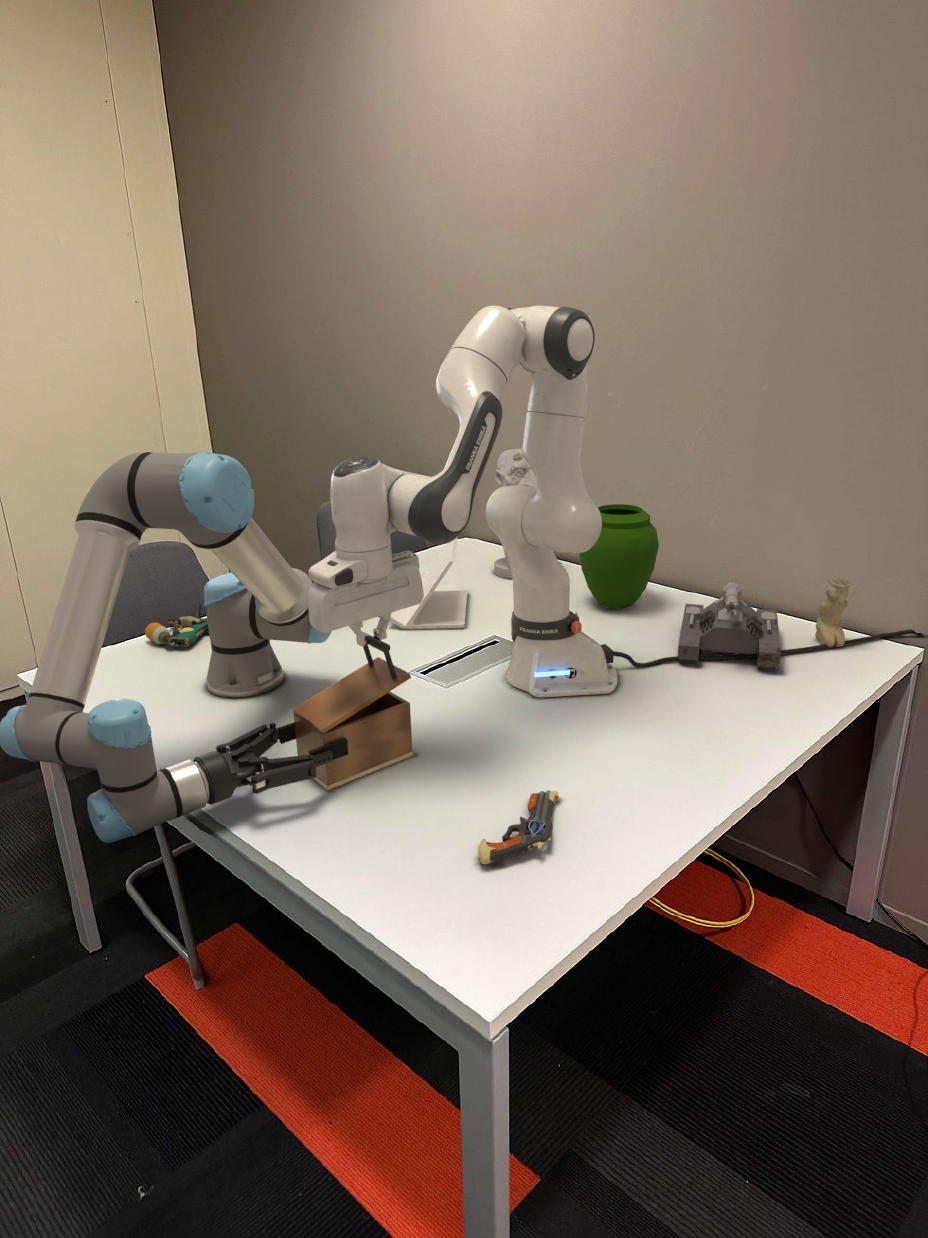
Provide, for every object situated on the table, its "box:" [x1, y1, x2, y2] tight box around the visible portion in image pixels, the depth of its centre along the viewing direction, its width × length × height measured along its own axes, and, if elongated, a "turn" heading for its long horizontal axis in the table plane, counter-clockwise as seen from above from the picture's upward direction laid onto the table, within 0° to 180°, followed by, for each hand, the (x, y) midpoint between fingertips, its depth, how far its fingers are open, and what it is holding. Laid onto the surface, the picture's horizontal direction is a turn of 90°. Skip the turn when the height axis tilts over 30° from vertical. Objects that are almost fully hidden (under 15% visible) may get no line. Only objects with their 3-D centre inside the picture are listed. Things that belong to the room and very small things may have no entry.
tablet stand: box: [390, 536, 468, 630], centre depth 211 cm, size 18×25×17 cm
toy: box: [677, 581, 782, 670], centre depth 184 cm, size 25×20×15 cm
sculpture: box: [814, 576, 852, 648], centre depth 185 cm, size 6×7×15 cm
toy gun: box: [478, 790, 560, 865], centre depth 124 cm, size 3×19×10 cm
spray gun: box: [144, 614, 209, 648], centre depth 201 cm, size 4×17×15 cm
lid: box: [292, 630, 412, 734], centre depth 139 cm, size 18×10×8 cm, turn 129°
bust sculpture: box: [493, 447, 537, 579], centre depth 231 cm, size 16×24×35 cm
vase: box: [578, 503, 660, 610], centre depth 210 cm, size 20×20×24 cm
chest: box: [292, 691, 414, 791], centre depth 144 cm, size 17×10×10 cm, turn 129°
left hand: (330, 734), depth 140 cm, fingers closed on chest, 10 cm apart
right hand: (371, 641), depth 141 cm, fingers closed
